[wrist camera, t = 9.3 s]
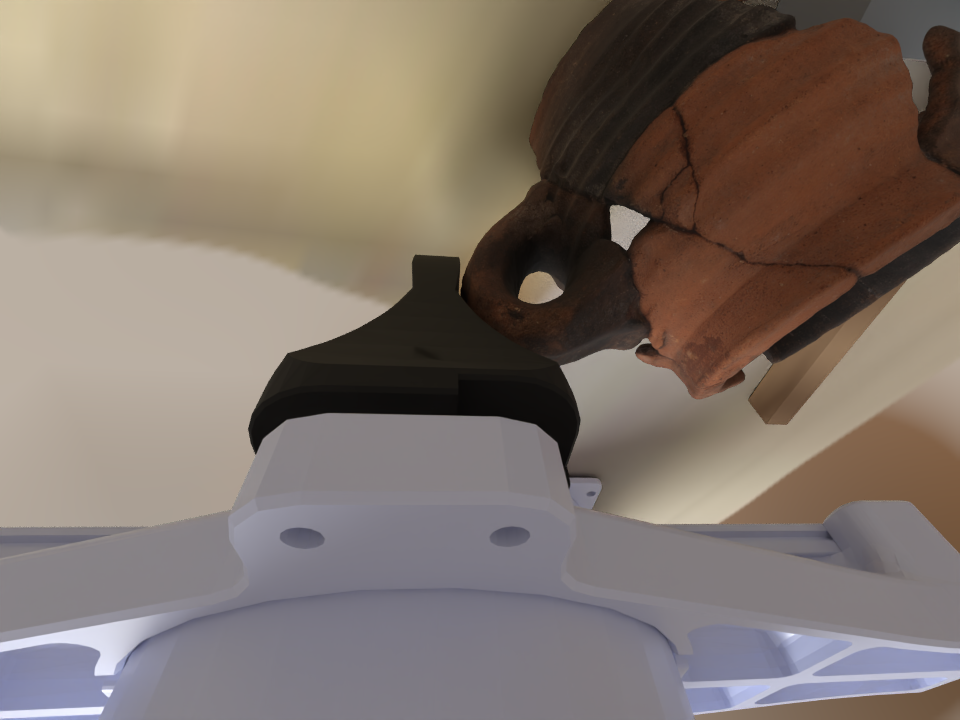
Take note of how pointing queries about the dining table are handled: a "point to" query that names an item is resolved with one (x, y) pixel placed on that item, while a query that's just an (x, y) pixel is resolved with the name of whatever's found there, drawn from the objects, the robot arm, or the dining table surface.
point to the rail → (810, 367)
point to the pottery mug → (724, 187)
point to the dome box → (881, 17)
